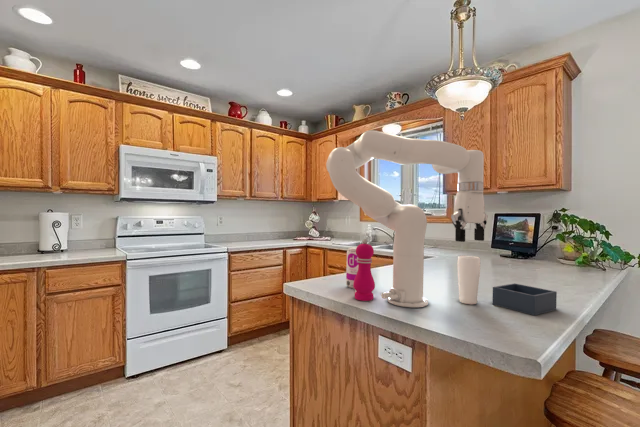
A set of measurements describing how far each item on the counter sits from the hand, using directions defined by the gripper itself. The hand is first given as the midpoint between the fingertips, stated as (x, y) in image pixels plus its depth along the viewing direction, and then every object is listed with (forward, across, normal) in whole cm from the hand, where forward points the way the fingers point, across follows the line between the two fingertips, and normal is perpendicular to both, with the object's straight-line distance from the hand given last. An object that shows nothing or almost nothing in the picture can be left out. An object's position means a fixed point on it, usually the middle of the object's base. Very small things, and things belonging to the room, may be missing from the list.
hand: (469, 240), depth 103 cm
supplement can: (+20, +20, -34) cm, 45 cm away
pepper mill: (+20, +28, -19) cm, 40 cm away
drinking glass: (+20, 0, 0) cm, 20 cm away
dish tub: (+20, -12, +11) cm, 26 cm away
